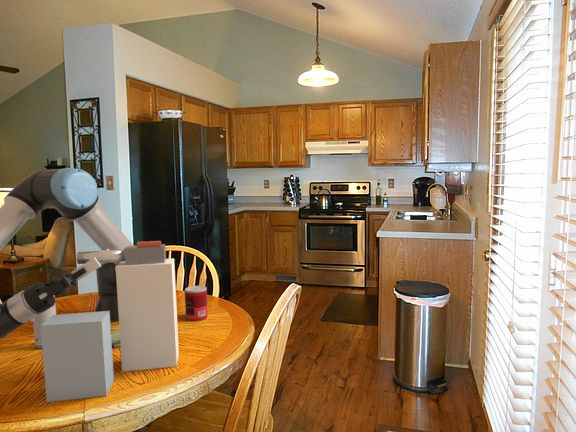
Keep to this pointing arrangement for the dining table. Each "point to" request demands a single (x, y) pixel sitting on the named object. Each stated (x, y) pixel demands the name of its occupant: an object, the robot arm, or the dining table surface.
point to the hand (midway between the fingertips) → (104, 257)
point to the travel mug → (39, 321)
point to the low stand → (77, 355)
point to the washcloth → (115, 338)
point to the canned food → (196, 303)
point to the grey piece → (128, 254)
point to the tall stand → (147, 315)
